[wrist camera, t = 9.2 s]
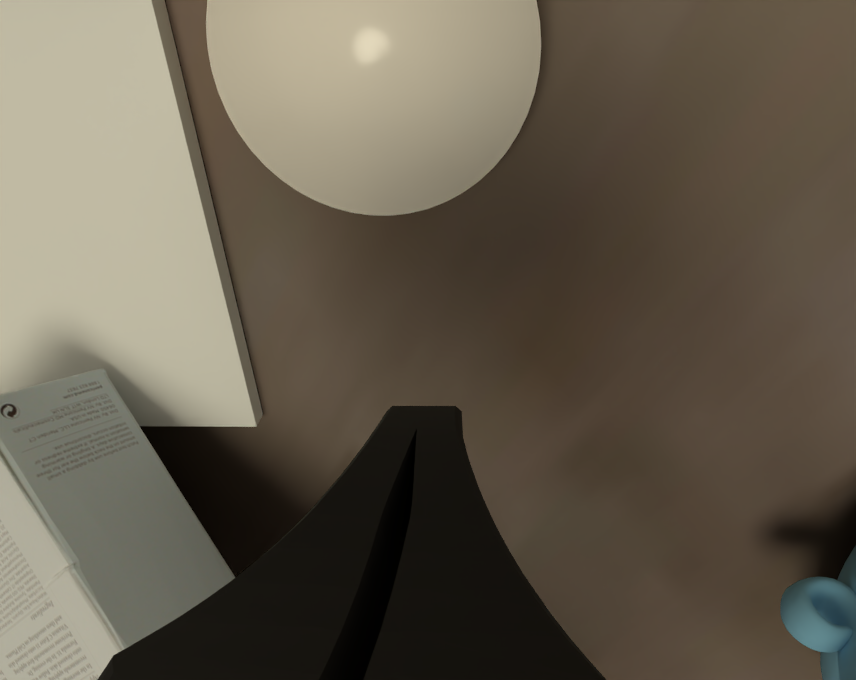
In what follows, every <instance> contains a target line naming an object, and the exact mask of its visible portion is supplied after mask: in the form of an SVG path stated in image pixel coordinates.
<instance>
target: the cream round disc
mask: <svg viewBox="0 0 856 680" xmlns="http://www.w3.org/2000/svg"><path fill="white" fill-rule="evenodd" d="M206 32H207V48H208V53H209V59H210V64H211V70H212V73H213V77H214V80H215V83H216V87H217V90H218V93H219V95H220V98H221V100H222V102H223V105H224V107H225V109H226V112H227V114H228V116H229V117H230V119H231V121H232V123H233V124H234V126H235V128H236V130H237V132H238V133H239V134H240V136H241V137H242V139H243V140H244V141H245V143H246V144H247V146H248V147H249V148H250V150H251V151H252V152H253V153H254V154H255V155H256V156H257V157H258V159H259V160H260V161H261V162H262V163H263V164H264V165H265V166H266V167H267V168H268V169H269V170H270V171H272V172H273V173H274V174H275V175H276V176H277V177H278V178H280V179H281V180H282V181H284V182H285V183H286V184H288V185H289V186H291V187H292V188H294V189H295V190H297V191H298V192H300V193H302V194H304V195H306V196H307V197H309V198H311V199H313V200H315V201H317V202H320V203H322V204H325V205H327V206H330V207H333V208H336V209H340V210H344V211H347V212H351V213H357V214H365V215H380V216H392V215H400V214H409V213H413V212H417V211H422V210H426V209H429V208H432V207H434V206H437V205H439V204H442V203H445V202H447V201H449V200H451V199H452V198H454V197H456V196H458V195H460V194H462V193H463V192H465V191H466V190H468V189H469V188H470V187H472V186H473V185H475V184H476V183H477V182H479V181H480V180H481V179H482V178H483V177H484V176H485V175H486V174H487V173H488V172H490V171H491V170H492V169H493V168H494V167H495V165H496V164H497V163H498V162H499V161H500V159H501V158H502V157H503V156H504V155H505V153H506V152H507V151H508V149H509V148H510V146H511V145H512V143H513V141H514V140H515V138H516V137H517V135H518V134H519V132H520V129H521V127H522V125H523V123H524V121H525V119H526V117H527V115H528V112H529V109H530V106H531V103H532V100H533V97H534V94H535V90H536V85H537V80H538V75H539V70H540V56H541V30H540V18H539V12H538V6H537V1H536V0H207V15H206Z"/></svg>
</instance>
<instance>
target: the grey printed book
mask: <svg viewBox="0 0 856 680" xmlns="http://www.w3.org/2000/svg"><path fill="white" fill-rule="evenodd" d="M234 578H235V576H234V575H233V573H232V571H231V570H230V568H229V567H228V565H227V564H226V562H225V560H224V559H223V557H222V556H221V554H220V553H219V551H218V549H217V548H216V546H215V545H214V543H213V542H212V540H211V539H210V537H209V535H208V534H207V532H206V531H205V529H204V528H203V526H202V524H201V523H200V521H199V520H198V518H197V517H196V515H195V513H194V512H193V510H192V509H191V507H190V506H189V504H188V502H187V501H186V499H185V498H184V496H183V495H182V493H181V491H180V490H179V488H178V487H177V485H176V484H175V482H174V480H173V479H172V477H171V476H170V474H169V472H168V471H167V469H166V468H165V466H164V464H163V463H162V461H161V460H160V458H159V457H158V455H157V453H156V452H155V450H154V449H153V447H152V445H151V444H150V442H149V441H148V439H147V437H146V436H145V434H144V433H143V431H142V430H141V428H140V426H139V425H138V423H137V422H136V420H135V418H134V417H133V415H132V414H131V412H130V411H129V409H128V408H127V406H126V405H125V403H124V401H123V400H122V398H121V397H120V395H119V394H118V392H117V390H116V389H115V387H114V385H113V384H112V382H111V381H110V379H109V377H108V376H107V373H106V370H105V369H97V370H93V371H89V372H85V373H81V374H78V375H74V376H70V377H66V378H62V379H58V380H54V381H50V382H46V383H42V384H38V385H34V386H30V387H26V388H22V389H18V390H14V391H9V392H5V393H1V394H0V680H97V679H98V678H99V676H100V675H101V673H102V672H103V670H104V669H105V667H106V666H107V664H108V663H109V661H110V660H111V658H112V657H113V655H115V654H117V653H118V652H120V651H122V650H124V649H126V648H127V647H129V646H131V645H133V644H134V643H136V642H138V641H139V640H141V639H143V638H144V637H146V636H148V635H150V634H151V633H153V632H155V631H156V630H158V629H160V628H161V627H163V626H165V625H167V624H168V623H170V622H172V621H173V620H175V619H176V618H178V617H180V616H181V615H183V614H184V613H186V612H187V611H189V610H190V609H192V608H193V607H195V606H196V605H198V604H199V603H201V602H202V601H204V600H205V599H207V598H208V597H210V596H211V595H212V594H214V593H215V592H217V591H218V590H219V589H221V588H222V587H223V586H225V585H226V584H228V583H229V582H230V581H232V580H233V579H234Z"/></svg>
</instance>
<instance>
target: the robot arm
mask: <svg viewBox="0 0 856 680" xmlns="http://www.w3.org/2000/svg"><path fill="white" fill-rule="evenodd" d="M97 680H606V679H605V678H604V677H603V676H602V674H601V673H600V672H599V671H598V670H597V669H596V668H595V667H594V666H593V664H592V663H591V662H590V661H589V660H588V659H587V658H586V657H585V655H584V654H583V653H582V652H581V651H580V649H579V648H578V647H577V646H576V645H575V644H574V642H573V641H572V640H571V639H570V638H569V636H568V635H567V634H566V633H565V631H564V630H563V629H562V627H561V626H560V625H559V624H558V622H557V621H556V620H555V619H554V617H553V616H552V615H551V613H550V612H549V611H548V609H547V608H546V606H545V605H544V603H543V602H542V600H541V599H540V598H539V596H538V595H537V593H536V592H535V590H534V589H533V588H532V586H531V585H530V583H529V582H528V580H527V579H526V577H525V576H524V574H523V573H522V571H521V570H520V568H519V566H518V565H517V563H516V561H515V560H514V558H513V556H512V555H511V553H510V551H509V549H508V548H507V546H506V544H505V542H504V540H503V539H502V537H501V535H500V533H499V531H498V529H497V527H496V525H495V523H494V521H493V519H492V517H491V515H490V513H489V510H488V508H487V506H486V504H485V501H484V499H483V497H482V495H481V492H480V490H479V487H478V485H477V482H476V479H475V476H474V473H473V470H472V468H471V465H470V462H469V459H468V455H467V452H466V448H465V443H464V439H463V431H462V411H461V410H459V409H458V408H457V407H456V406H392V407H391V408H390V409H389V410H388V411H387V412H386V413H385V415H384V417H383V418H382V420H381V421H380V423H379V424H378V426H377V427H376V429H375V430H374V432H373V433H372V434H371V436H370V437H369V439H368V440H367V442H366V443H365V444H364V446H363V447H362V448H361V450H360V451H359V453H358V454H357V455H356V456H355V458H354V459H353V460H352V462H351V463H350V464H349V465H348V467H347V468H346V469H345V471H344V472H343V473H342V474H341V476H340V477H339V478H338V479H337V480H336V482H335V483H334V484H333V485H332V486H331V487H330V488H329V490H328V491H327V492H326V493H325V494H324V495H323V496H322V498H321V499H320V500H319V501H318V502H317V503H316V504H315V506H314V507H313V508H312V509H311V510H310V511H309V512H308V513H307V514H306V515H305V516H304V517H303V518H302V519H301V520H300V521H299V522H298V523H297V524H296V525H295V526H294V527H293V528H292V529H291V530H290V531H289V532H288V533H287V534H286V535H285V536H284V537H283V538H282V539H281V540H279V541H278V542H277V543H276V544H275V545H274V546H273V547H272V548H270V549H269V550H268V551H267V552H266V553H265V554H263V555H262V556H261V557H260V558H259V559H258V560H256V561H255V562H254V563H253V564H252V565H250V566H249V567H248V568H247V569H246V570H244V571H243V572H242V573H241V574H239V575H238V576H237V577H236V578H234V579H233V580H232V581H230V582H229V583H228V584H226V585H225V586H223V587H222V588H221V589H219V590H218V591H217V592H215V593H214V594H212V595H211V596H210V597H208V598H207V599H205V600H204V601H202V602H201V603H199V604H198V605H196V606H195V607H193V608H192V609H190V610H189V611H187V612H186V613H184V614H183V615H181V616H180V617H178V618H176V619H175V620H173V621H172V622H170V623H168V624H167V625H165V626H163V627H161V628H160V629H158V630H156V631H155V632H153V633H151V634H150V635H148V636H146V637H144V638H143V639H141V640H139V641H138V642H136V643H134V644H133V645H131V646H129V647H127V648H126V649H124V650H122V651H120V652H118V653H117V654H115V655H113V657H112V658H111V660H110V661H109V663H108V664H107V666H106V667H105V669H104V670H103V672H102V673H101V675H100V676H99V678H98V679H97Z"/></svg>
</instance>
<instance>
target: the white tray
mask: <svg viewBox="0 0 856 680" xmlns="http://www.w3.org/2000/svg"><path fill="white" fill-rule="evenodd" d="M97 369H105V370H106V373H107V376H108V377H109V379H110V381H111V382H112V384H113V385H114V387H115V389H116V390H117V392H118V394H119V395H120V397H121V398H122V400H123V401H124V403H125V405H126V406H127V408H128V409H129V411H130V412H131V414H132V415H133V417H134V418H135V420H136V422H137V423H138V425H139V426H214V427H257V425H258V423H259V421H260V419H261V417H262V415H263V413H262V408H261V404H260V400H259V396H258V391H257V387H256V383H255V379H254V375H253V370H252V366H251V362H250V358H249V354H248V349H247V345H246V341H245V337H244V333H243V328H242V324H241V320H240V316H239V311H238V307H237V303H236V299H235V295H234V290H233V286H232V282H231V278H230V274H229V269H228V265H227V261H226V257H225V253H224V248H223V244H222V240H221V236H220V232H219V227H218V223H217V219H216V215H215V210H214V206H213V202H212V198H211V194H210V189H209V185H208V181H207V177H206V173H205V168H204V164H203V160H202V156H201V152H200V147H199V143H198V139H197V135H196V130H195V126H194V122H193V118H192V114H191V109H190V105H189V101H188V97H187V93H186V88H185V84H184V80H183V76H182V72H181V67H180V63H179V59H178V55H177V50H176V46H175V42H174V38H173V34H172V29H171V25H170V21H169V17H168V13H167V8H166V4H165V0H0V394H1V393H5V392H9V391H14V390H18V389H22V388H26V387H30V386H34V385H38V384H42V383H46V382H50V381H54V380H58V379H62V378H66V377H70V376H74V375H78V374H81V373H85V372H89V371H93V370H97Z"/></svg>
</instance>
